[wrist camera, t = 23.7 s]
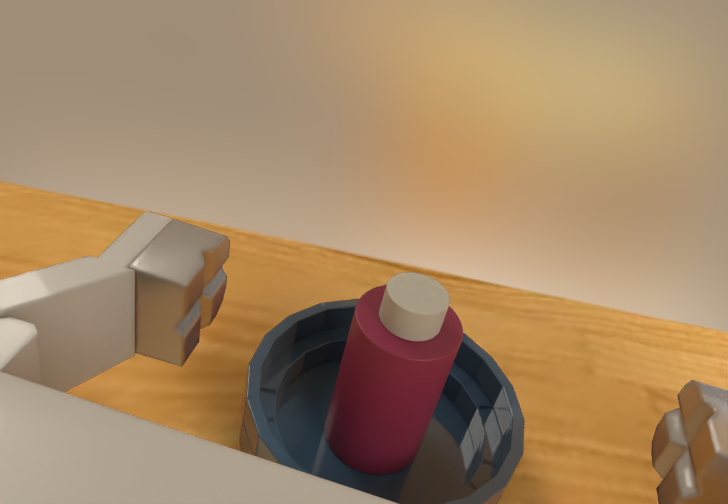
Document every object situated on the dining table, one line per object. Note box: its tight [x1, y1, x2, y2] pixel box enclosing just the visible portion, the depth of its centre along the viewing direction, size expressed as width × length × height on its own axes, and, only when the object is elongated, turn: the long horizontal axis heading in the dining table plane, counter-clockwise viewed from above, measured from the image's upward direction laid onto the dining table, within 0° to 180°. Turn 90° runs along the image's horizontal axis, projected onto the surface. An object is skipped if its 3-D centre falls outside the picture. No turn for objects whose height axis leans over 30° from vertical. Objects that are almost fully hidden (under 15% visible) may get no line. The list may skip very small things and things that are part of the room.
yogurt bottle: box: [325, 272, 463, 475], centre depth 36 cm, size 6×6×11 cm
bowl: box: [239, 299, 525, 504], centre depth 38 cm, size 15×15×4 cm
